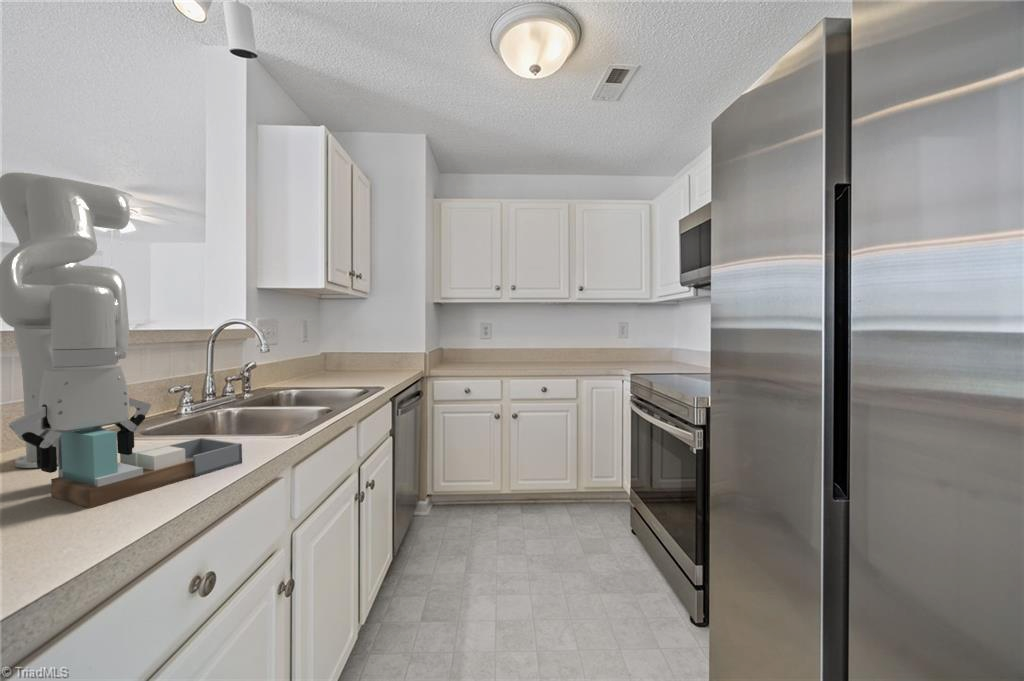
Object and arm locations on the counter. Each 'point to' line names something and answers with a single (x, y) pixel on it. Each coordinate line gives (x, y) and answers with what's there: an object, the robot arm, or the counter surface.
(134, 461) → the tile
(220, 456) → the tray
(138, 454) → the tile
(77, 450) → the teal cube on plate
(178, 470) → the board
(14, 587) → the counter surface
